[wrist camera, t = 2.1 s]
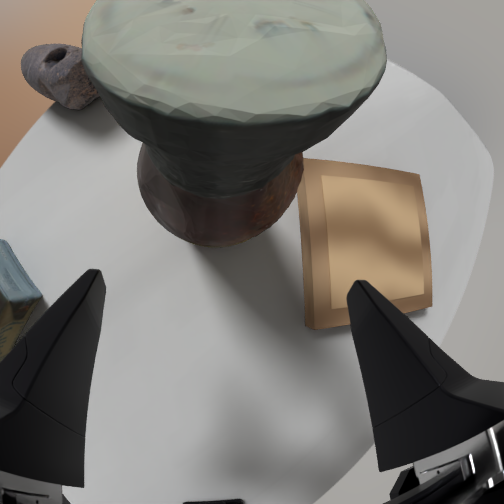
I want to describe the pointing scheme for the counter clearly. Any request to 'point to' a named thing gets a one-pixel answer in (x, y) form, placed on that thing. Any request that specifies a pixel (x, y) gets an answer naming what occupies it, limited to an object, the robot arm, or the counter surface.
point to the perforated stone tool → (59, 74)
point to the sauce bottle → (229, 99)
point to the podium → (361, 238)
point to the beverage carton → (14, 298)
